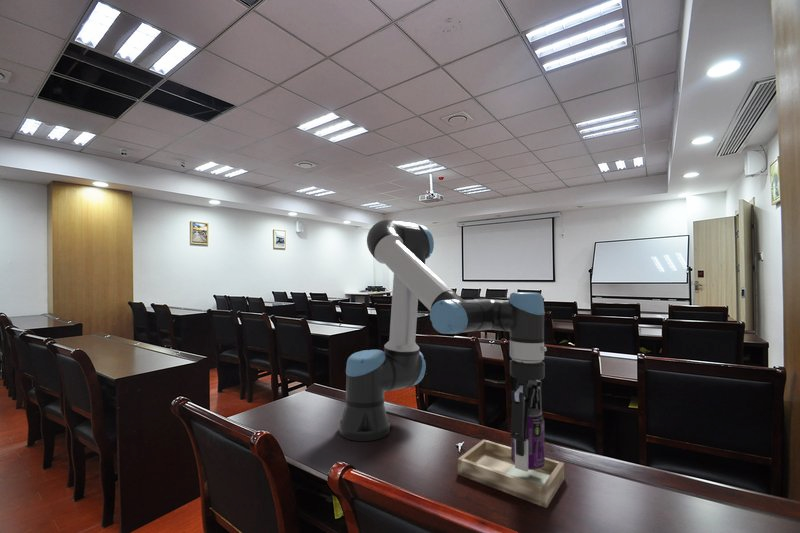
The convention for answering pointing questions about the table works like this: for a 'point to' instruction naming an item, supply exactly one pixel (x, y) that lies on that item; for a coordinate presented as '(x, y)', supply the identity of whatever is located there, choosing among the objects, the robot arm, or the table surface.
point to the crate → (511, 473)
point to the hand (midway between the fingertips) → (527, 462)
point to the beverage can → (533, 440)
